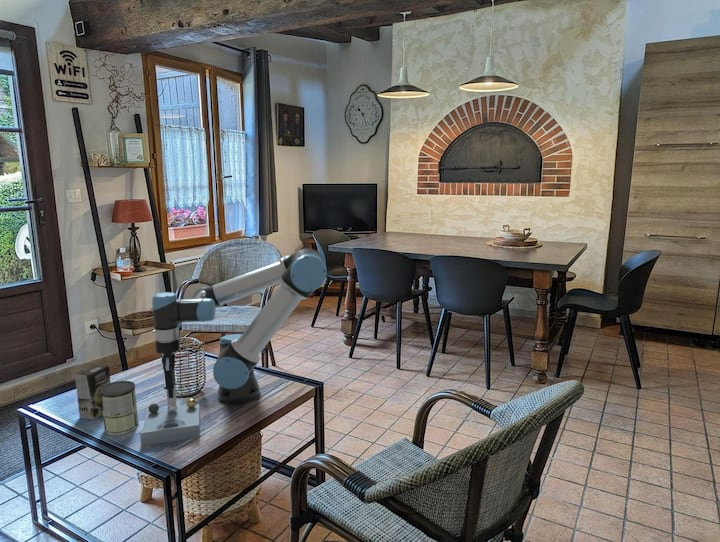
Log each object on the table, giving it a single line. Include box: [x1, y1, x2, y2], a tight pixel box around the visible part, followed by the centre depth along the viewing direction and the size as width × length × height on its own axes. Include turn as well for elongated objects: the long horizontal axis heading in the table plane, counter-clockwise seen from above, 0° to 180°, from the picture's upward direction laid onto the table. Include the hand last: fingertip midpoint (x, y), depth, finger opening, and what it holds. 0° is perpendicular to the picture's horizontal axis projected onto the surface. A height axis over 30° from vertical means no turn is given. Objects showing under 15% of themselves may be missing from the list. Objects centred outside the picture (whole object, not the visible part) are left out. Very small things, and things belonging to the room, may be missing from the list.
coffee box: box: [74, 363, 112, 421], centre depth 174 cm, size 9×6×16 cm
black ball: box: [148, 403, 160, 413], centre depth 170 cm, size 3×3×3 cm
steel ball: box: [166, 403, 178, 413], centre depth 171 cm, size 3×3×3 cm
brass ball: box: [186, 398, 197, 408], centre depth 174 cm, size 3×3×3 cm
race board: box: [139, 403, 201, 447], centre depth 166 cm, size 17×19×4 cm
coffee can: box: [100, 380, 139, 436], centre depth 165 cm, size 10×10×14 cm
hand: (172, 405), depth 173 cm, fingers closed
